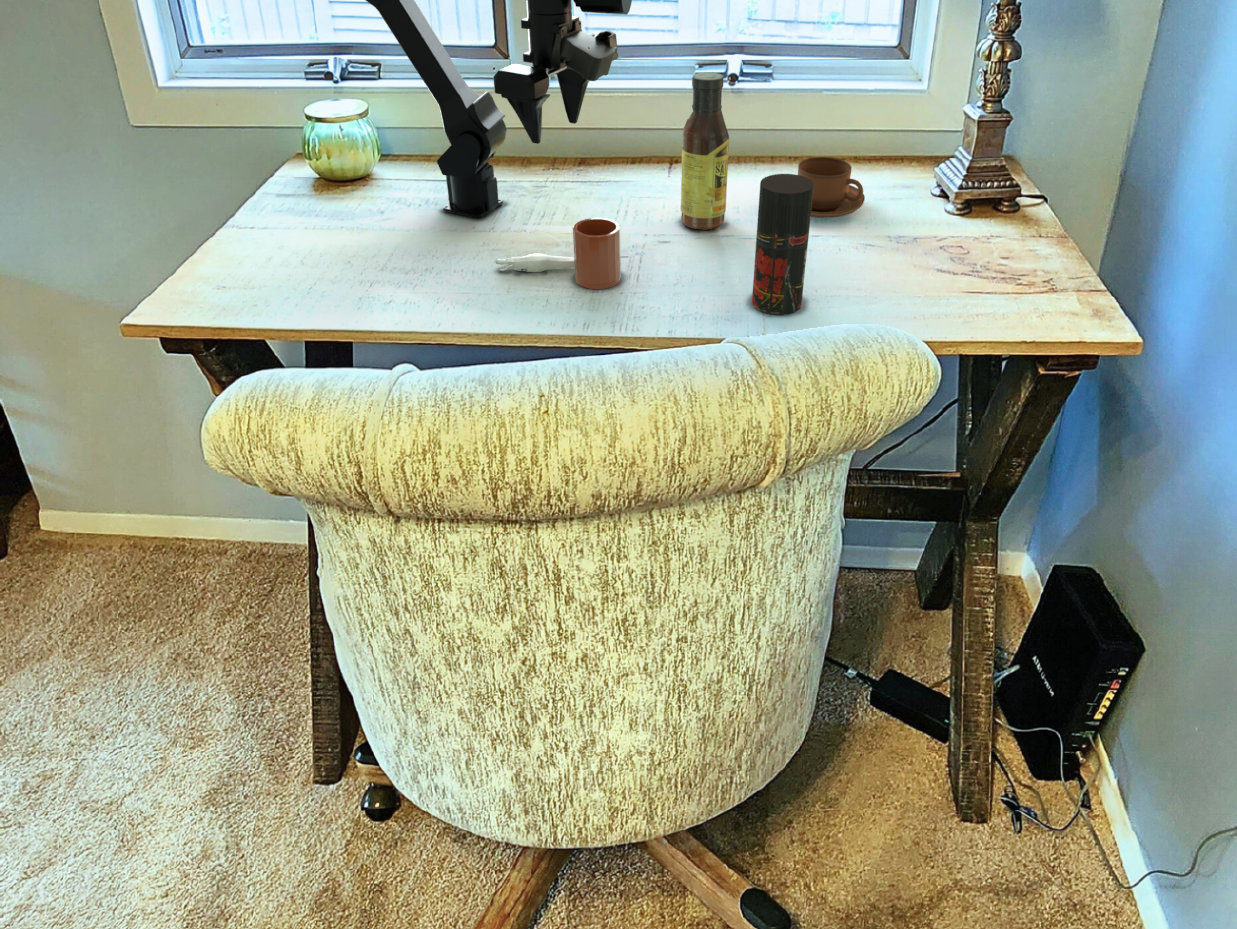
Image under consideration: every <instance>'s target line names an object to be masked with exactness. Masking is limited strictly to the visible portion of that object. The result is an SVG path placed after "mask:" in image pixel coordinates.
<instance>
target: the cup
mask: <svg viewBox="0 0 1237 929" xmlns="http://www.w3.org/2000/svg"><path fill="white" fill-rule="evenodd" d="M572 239H573V240H572V241H573V243H572V244H573V257H574V265H575V267H574V276H575V283H576V284H577V285H578V286H580V287H582V288H584V289H589V290H606V289H609V288H612V287H615V286H617V285H618V284H619V283H620V282H621V274H622V271H621V270H622V266H621V264H622V263H621V225H620V224H619V222H618V221H615V220H613V219H611V218H605V217H590V218H585V219H581V220H579V221H577V222H576V223H574V224H573V227H572Z"/></svg>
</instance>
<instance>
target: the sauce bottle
mask: <svg viewBox="0 0 1237 929" xmlns="http://www.w3.org/2000/svg"><path fill="white" fill-rule="evenodd" d="M691 80H692V81H691V86H692V87H691V88H692V105H691V108H692V112H691V114H690V115H689V117H688V118H687V119H686V121H685V124H684V126H683V133H682V138H683V140H682V147H681V178H680V180H681V183H680V184H681V188H680V211H681V219H680V220H681V222H682V224H683V225H684V226H686V227H688V228H690V229H694V230H712V229H716V228H718V227H720V226H721V225H723V224H724V222H725V215H726V212H727V211H726V208H727V190H728V171H729V152H730V151H729V150H730V135H729V132H728V128H727V125H726V122H725V118H724V115H723V111H722V108H723V107H722V93H723V87H724V75H723V74H721V73H719V72H713V71H712V72H711V71H704V72H697V73H695V74H693V75H692V77H691Z"/></svg>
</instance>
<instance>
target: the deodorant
mask: <svg viewBox="0 0 1237 929" xmlns="http://www.w3.org/2000/svg"><path fill="white" fill-rule="evenodd" d="M813 189H814V183H813V182H812V181H811V180H810V179H808V178H806V177H804V176H800V175H798V174H795V173H776V174H771V175H768V176H765V177H763V178H762V179H761V180H760V184H759V195H758V196H759V198H758V210H757V223H756V224H757V225H756V238H755V251H754V252H755V254H754V266H753V279H752V280H753V281H752V294H751V305H752V307H753V308H754V309H755V310H756V311H758V312H760V313H763V314H766V315H771V316H772V315H773V316H785V315H786V316H787V315H791V314H795V313H796V312H798V311H799V310H800V309H801V307H802V303H803V293H804V284H805V275H806V266H807V265H806V264H807V257H808V256H807V255H808V248H809V247H808V246H809V237H810V236H809V235H810V228H811V227H810V226H811V208H812V198H813Z"/></svg>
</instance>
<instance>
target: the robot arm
mask: <svg viewBox="0 0 1237 929" xmlns="http://www.w3.org/2000/svg"><path fill="white" fill-rule="evenodd" d="M365 2H367V3H368V4H370V5H371V6H373V7H374V8H375V10H377V12H378V14H380V16H381V18H382V19H383V21H384V22H385V24H386V26H387V27H388V29H389V30H390V32H391V33H392V35H393V36H394V39H395V40H396V41H397V43H398V45H399V46H400V48H401V49H402V51H403V52H404V53H405V55H406V57H407V58H408V60H409V61H410V63H411V64H412V66H413V68H414V69H415V71H416V72H417V74H418V75H419V77H420V78H421V80H422V81H423V83H424V84H425V86H426V88H427V89H428V91H429V93H430V94H431V96H432V97H433V99H434V101H435V102H436V103H437V105H438V108H439V112H440V115H441V121H442V126H443V131H444V134H445V135H446V138H447V140H448V142H449V144H450V146H448V148H447V149H446V150H445V151H444V152H443V153H442V154H441V156H439V158H438V159H437V160H436V163H437V165H438V169H439V171H440V172H441V174H442V176H445V179H446V188H447V189H446V190H447V196H448V197H447V198H448V203H447V204H445V205H443V206H442V211H443V212H446V213H450V214H451V213H452V214H456V215H461V216H464V217H465V216H466V217H470V218H474V219H481V218H483V217H484V216H485V215H487V214H489V213H490V212H492V211H493V210H495V209H496V208H498V207H500V206H501V205H503V204H504V200H503V199H501V198H499V191H498V180H497V177H496V176H495V170H494V165H493V164H490V163H489V161H490V160H491V159H494V158H495V157H496V153H497V150H498V149H499V148H500V147H501V146H502V145H503V144H504V142H505V140H506V135H507V131H508V130H507V125H506V123H505V121H504V118H505V117H506V114H505V113H503V112H502V111H501V109H500V108H499V107H498V106H497V104H496V102H495V99H494V97H493V95H492V94H491V92H490V91H489V90H487V91H485V92H484V93H483V94H482V95H480V94H479V93H477V92H476V91H475V90H473V88H471V87H470V86H469V85H468V84H467V82H466V81H465V79H464V78H463V76H462V74H461V73H460V71H459V70H458V68H457V67H456V65H455V63H454V62H453V60H452V58H451V56H450V55H449V53H448V52H447V51H446V49H445V46H443V44H442V42H441V41H440V39H439V38H438V36H437V34H436V33H435V30H433V28H432V26H431V25H430V23H429V22H428V20H427V19H426V17H425V15H424V14H423V11H422V10H421V9H420V7H419V6H418V4H417V2H416V1H415V0H365ZM632 2H633V0H526V14H527V17H525V18H521V20H520V28H521V29H523V30H527V32H528V49H529V50H528V51H526V52H523V54H522V60H523V61H522V62H523V63H528V64H531V66H530V65H524V64H519V63H512V64H509V65H507V66H505V67H503V68H500V69H498V70H497V71H496V73H495V74H494V75H493V78H492V79H493V89H494V90H493V91H494V93H495V94H497V95H500V96H501V98H502V99H506V100H507V102H508V103H509V105H510V106H511V108H512V109H513V111H514V112H515V115H516V116H517V117H518V119H519V121H520V122H521V124H522V126H523V129H524V130H525V132H526V134H527V136H528V138H529V139H530V141H531V143H532V144H535V145H538V144H540V143H541V140H542V126H543V125H542V123H543V122H542V121H543V105H544V103H545V102H546V101H547V100H548V99H549V98H550V97H551V94H550V93H548V91H549V88H550V78H551V77H552V76H554V75H556V78H557V83H558V86H559V90H560V94H561V98H562V102H563V106H564V111H565V114H566V117H567V120H568V122H569V123H570V124H574V125H575V124H577V123H578V121H579V117H580V113H581V109H582V105H583V102H584V98H585V94H586V91H587V88H588V84H589V83H590V82H596V81H597V80H599V78H601V77H603V76H608V75H609V73H610V69H611V66H612V64H613V62H614V61H615V60H617V59H619V54H618V41H617V39H618V38H617V34H616V32H614V31H612V30H610V29H608V28H606V29H605V30H602V31H600V32H599V33H598V34H597V35H595V33H590V34H588V33H586V32H584V31H583V30H582V21H581V20H580V17H579V16H575V15H573V3H574V5H575V7H577V8H580V11H581V12H582V13H590V14H606V15H607V14H608V15H624V16H625V15H626V16H627V15H628V14H629V13H630V11H631V8H632Z"/></svg>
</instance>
